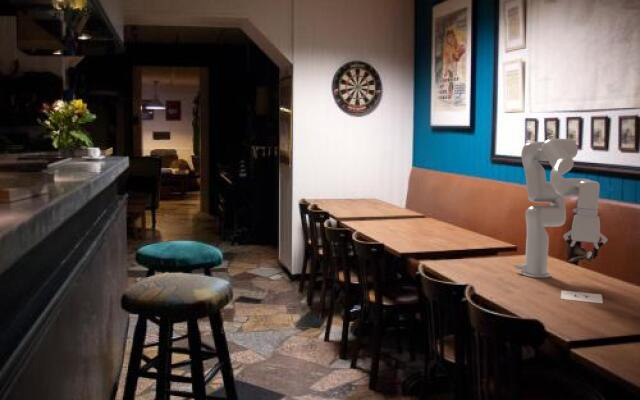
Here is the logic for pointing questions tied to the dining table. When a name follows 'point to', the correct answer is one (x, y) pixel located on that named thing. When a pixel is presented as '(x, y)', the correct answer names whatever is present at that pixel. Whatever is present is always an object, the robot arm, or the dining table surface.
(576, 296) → the white square panel
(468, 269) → the dining table surface
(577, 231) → the robot arm
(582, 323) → the dining table surface
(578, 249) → the eagle figurine
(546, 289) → the dining table surface
